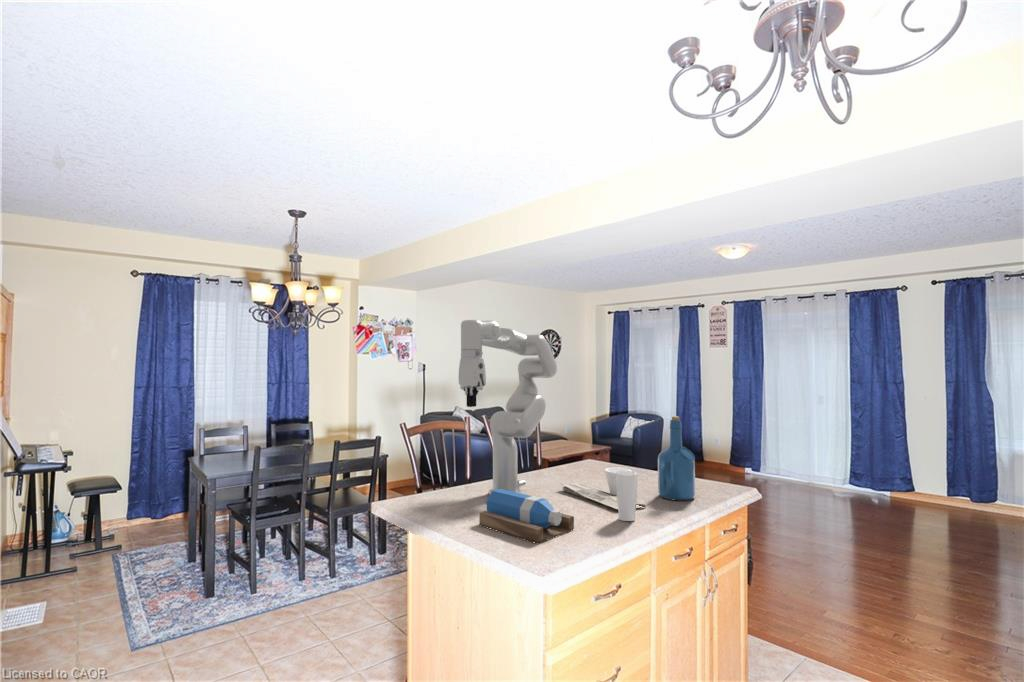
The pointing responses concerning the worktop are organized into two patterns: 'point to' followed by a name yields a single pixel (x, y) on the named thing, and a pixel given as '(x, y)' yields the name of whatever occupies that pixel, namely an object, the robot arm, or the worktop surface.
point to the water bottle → (523, 508)
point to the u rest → (525, 527)
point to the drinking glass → (626, 494)
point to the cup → (613, 478)
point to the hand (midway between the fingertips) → (471, 406)
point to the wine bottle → (676, 467)
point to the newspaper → (594, 494)
